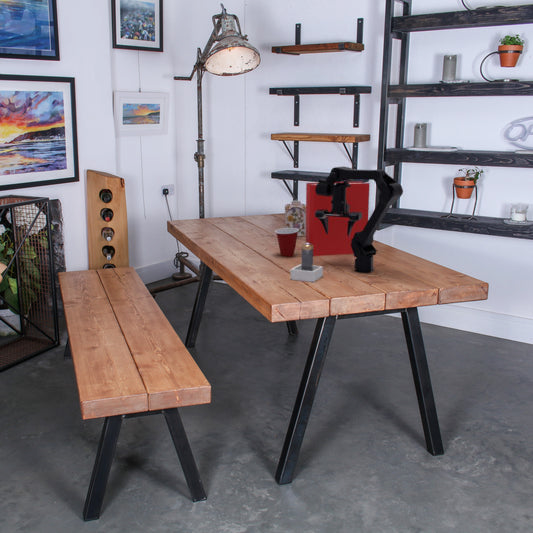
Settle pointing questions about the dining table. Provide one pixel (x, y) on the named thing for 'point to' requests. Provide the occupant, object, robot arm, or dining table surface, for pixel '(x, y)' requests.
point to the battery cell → (307, 257)
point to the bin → (306, 274)
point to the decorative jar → (296, 217)
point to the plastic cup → (287, 241)
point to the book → (335, 220)
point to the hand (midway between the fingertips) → (337, 235)
